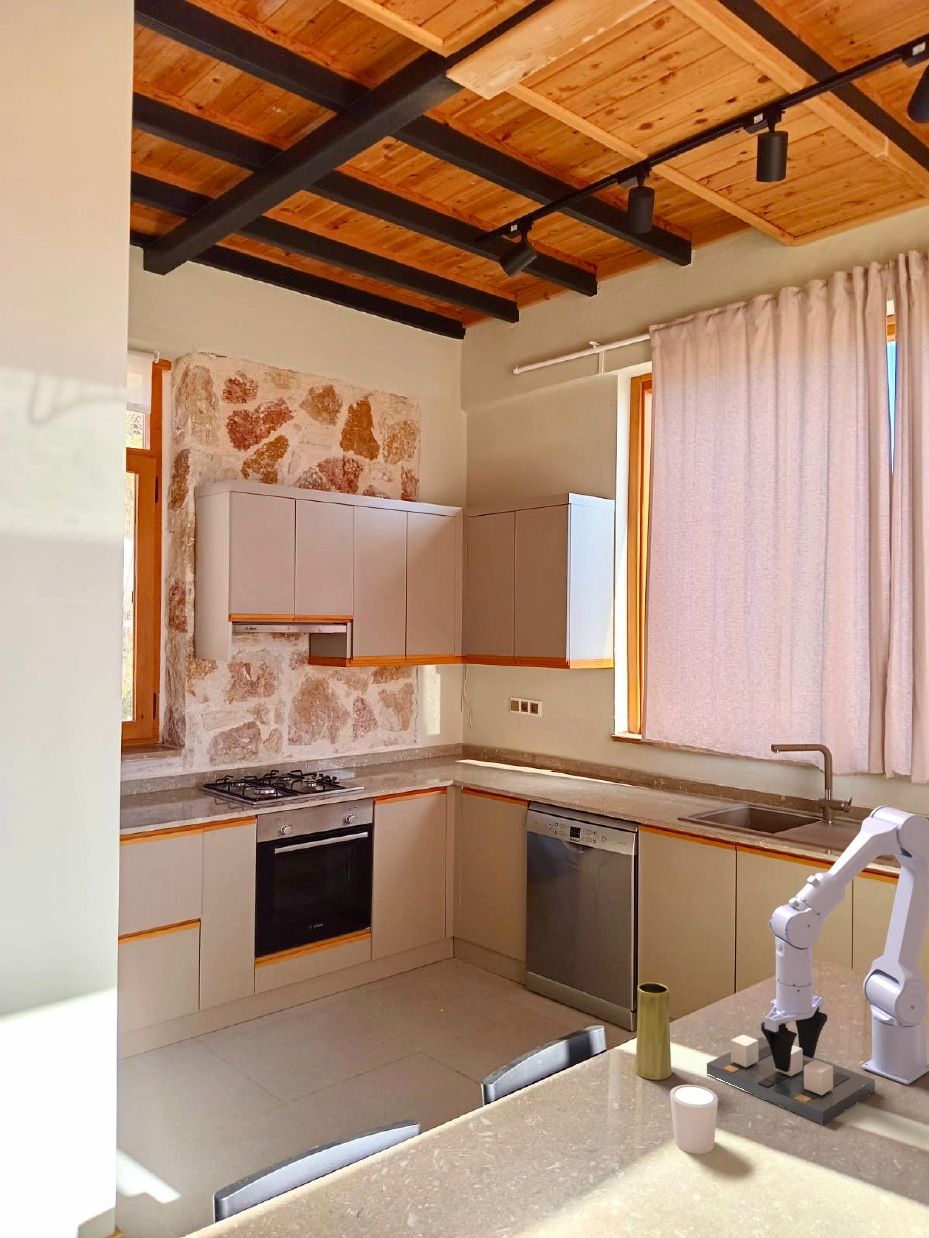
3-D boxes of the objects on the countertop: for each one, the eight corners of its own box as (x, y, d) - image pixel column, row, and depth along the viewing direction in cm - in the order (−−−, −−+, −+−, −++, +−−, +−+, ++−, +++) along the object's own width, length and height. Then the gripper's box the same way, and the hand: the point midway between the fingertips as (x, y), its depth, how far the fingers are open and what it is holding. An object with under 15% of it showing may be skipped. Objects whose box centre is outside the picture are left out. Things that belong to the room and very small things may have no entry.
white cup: (719, 1135, 140) (719, 1087, 140) (716, 1159, 134) (716, 1109, 134) (672, 1127, 142) (672, 1080, 143) (667, 1150, 136) (666, 1101, 136)
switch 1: (742, 1054, 161) (742, 1034, 162) (758, 1060, 159) (758, 1040, 159) (730, 1060, 159) (730, 1039, 159) (746, 1067, 157) (746, 1045, 157)
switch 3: (815, 1081, 152) (815, 1059, 152) (833, 1088, 150) (832, 1065, 150) (803, 1088, 150) (803, 1065, 150) (821, 1095, 147) (821, 1072, 147)
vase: (672, 1082, 157) (671, 995, 157) (634, 1078, 158) (634, 992, 158) (671, 1065, 163) (671, 982, 163) (635, 1062, 164) (635, 979, 164)
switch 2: (786, 1063, 158) (786, 1042, 158) (802, 1069, 156) (802, 1048, 156) (774, 1069, 156) (774, 1048, 156) (791, 1076, 154) (790, 1054, 154)
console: (760, 1048, 169) (760, 1035, 169) (874, 1091, 153) (874, 1078, 153) (706, 1075, 159) (706, 1061, 159) (822, 1125, 143) (822, 1110, 143)
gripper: (795, 963, 165) (796, 1042, 165) (748, 984, 156) (748, 1066, 156) (833, 975, 160) (834, 1055, 159) (786, 996, 150) (787, 1082, 150)
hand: (794, 1062), depth 157 cm, fingers open, 7 cm apart
